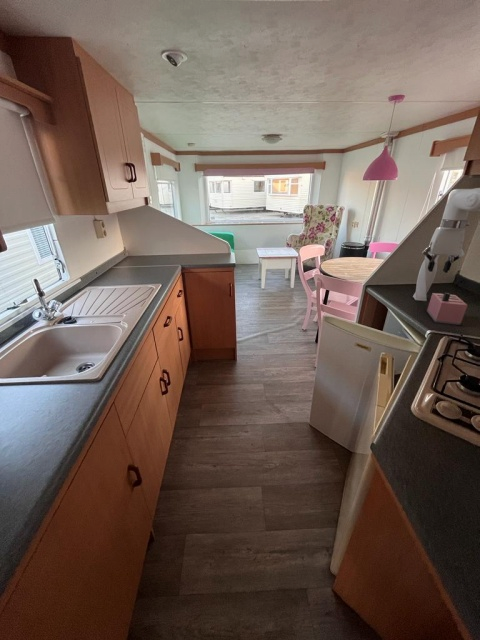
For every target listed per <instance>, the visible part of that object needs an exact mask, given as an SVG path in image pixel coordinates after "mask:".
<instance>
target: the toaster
mask: <svg viewBox="0 0 480 640" xmlns="http://www.w3.org/2000/svg"><path fill="white" fill-rule="evenodd" d="M443 296H444V293H437V292H436V293H435V292H432V293H431V296H430V300H429V303H428V305H427V309H426V313H427V314H428V315H429V316H430V318H432V320H433V321H434V323H439V324H448V325H454V326H455V325H456V326H457V325H458V326H461V324H462V321H463V318H464V316H465V313H466V310H467V308H468V304H467V303H465V302H464V300H462V299H461V298H460V297H458V296H457V295H456V294H450V297H449V301H443V300H442V299H443Z"/></svg>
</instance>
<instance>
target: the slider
mask: <svg viewBox="0 0 480 640" xmlns="http://www.w3.org/2000/svg"><path fill="white" fill-rule="evenodd" d="M443 294H444V296H443V299H442V300H443V301H449V297H450V295H451V293H450V292H444V293H443Z"/></svg>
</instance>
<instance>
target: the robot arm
mask: <svg viewBox="0 0 480 640" xmlns="http://www.w3.org/2000/svg"><path fill="white" fill-rule="evenodd" d="M470 212H475V213H476V212H478V213H479V212H480V187H475V188H456V189H453V190H451V191H450V193H449V194H448V197H447V201H446V203H445V207H444V211H443V214H442V218H441V221H440V224H439V227H436V228H435V230H434V233H433V234H432V237H431V239H430V242H429V244H428V246H427V247H426V248H425V249H424V250H422V252H421V253H422V254H423V255H424V257H425V256H426V257H427V258H428V259H429V265H428V270H429V271H430V272H432V271H433V268H434V265H435V262H434V261H435V259H436V257H437V255H440V256H447V261H445V262H444V266H443V269H442V272H443V273H446V274H447V273H448V272H449V271H450V270H451V267H452V265H453V263H454V262H456V261H457V260H459V259H461V258H463V257H465V256H466V253H465V251H464V249H463V244H464V242H465V235H466V228H465V227H468V226H470V224H471V222H470V221H468V216H469V214H470ZM428 252H430V253H432V255H429V254H428Z"/></svg>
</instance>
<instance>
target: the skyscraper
mask: <svg viewBox="0 0 480 640" xmlns="http://www.w3.org/2000/svg"><path fill="white" fill-rule="evenodd" d="M428 254H429V255H432V253H430V252H428ZM440 257H441V255H437V257H436V259H435V261H434V262H435V265H434V268H433V271H432V272H430V271H429V270H428V265H429V259H428V258H427V257H426V256H425V255H424V259H423V262H422V263H421V266H420V268H419V272H418V275H417V279H416V286H415V292H414V293H413V296H412V298H414V301H422V302H427V301H428V299H427V298H428V297H427V294H428V292H429V290H430V289H431V286H432V285H433V282H434V280H435V277H436V275H437V271H438V261H439V258H440Z"/></svg>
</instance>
